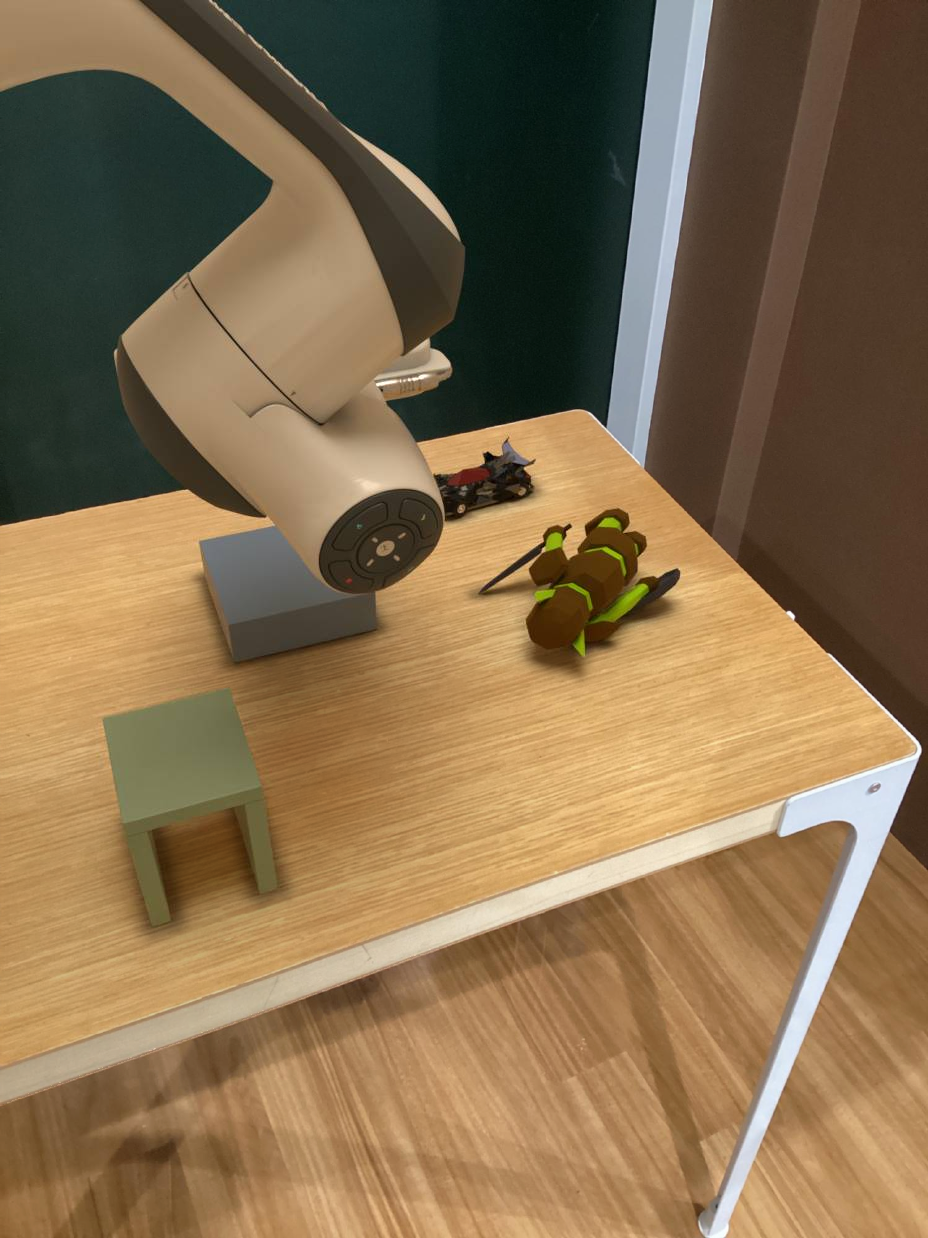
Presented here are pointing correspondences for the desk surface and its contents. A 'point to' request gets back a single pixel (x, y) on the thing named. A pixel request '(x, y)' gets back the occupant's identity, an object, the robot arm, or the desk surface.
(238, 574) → the low gray rectangular block
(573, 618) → the goblin
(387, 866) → the desk surface
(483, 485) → the toy car
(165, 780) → the sage green stool
